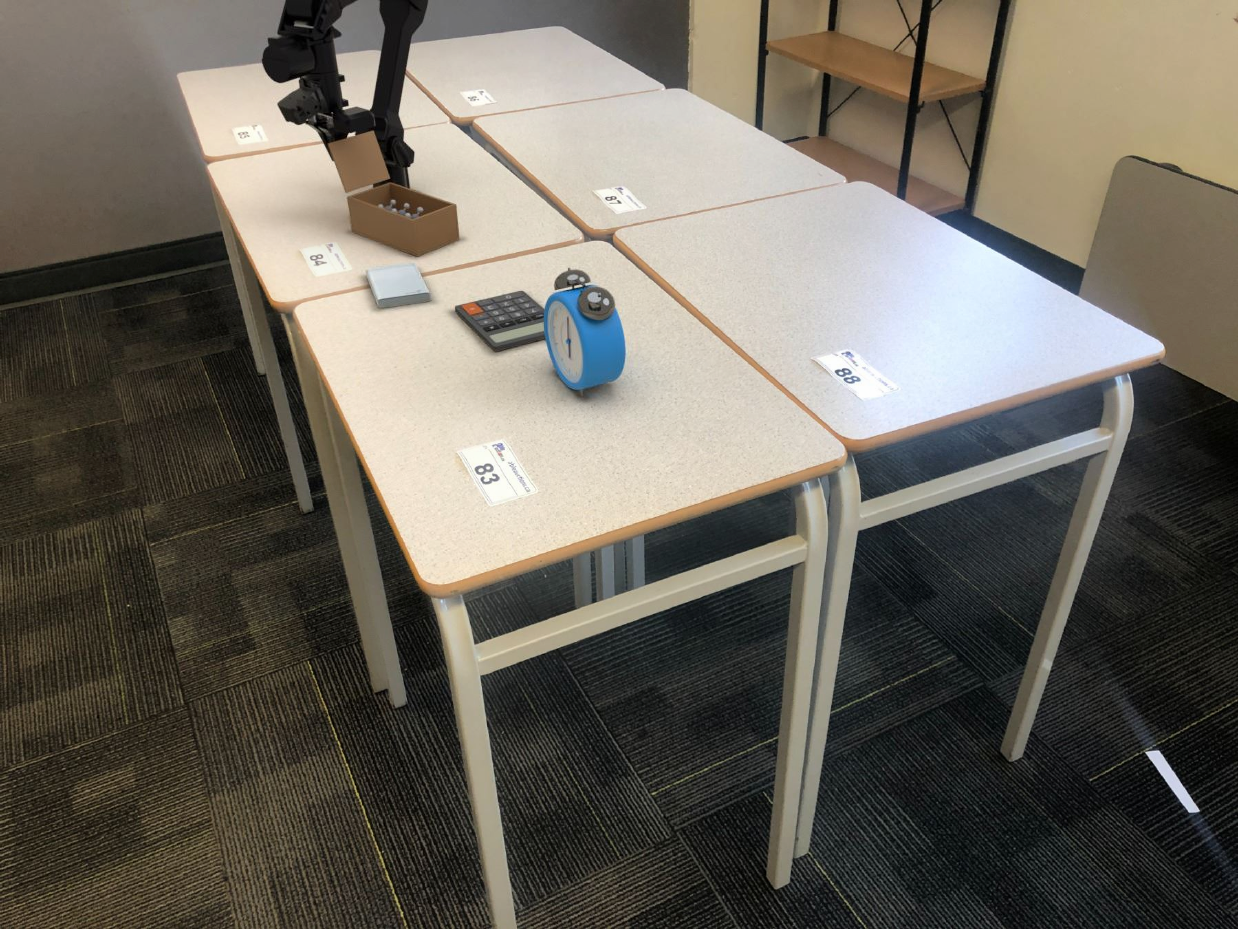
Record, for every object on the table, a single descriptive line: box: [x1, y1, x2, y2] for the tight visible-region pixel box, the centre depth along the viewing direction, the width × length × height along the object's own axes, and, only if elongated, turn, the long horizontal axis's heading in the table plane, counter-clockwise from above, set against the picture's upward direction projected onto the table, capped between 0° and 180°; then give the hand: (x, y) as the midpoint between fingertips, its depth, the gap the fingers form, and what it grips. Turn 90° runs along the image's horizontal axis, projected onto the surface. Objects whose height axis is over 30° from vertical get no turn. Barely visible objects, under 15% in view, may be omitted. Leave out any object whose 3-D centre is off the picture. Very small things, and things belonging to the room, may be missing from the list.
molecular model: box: [378, 200, 423, 219], centre depth 169 cm, size 14×4×5 cm, turn 49°
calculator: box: [454, 290, 546, 352], centre depth 143 cm, size 12×1×15 cm
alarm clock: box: [544, 267, 627, 397], centre depth 125 cm, size 13×6×15 cm, turn 29°
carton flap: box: [328, 131, 390, 194], centre depth 169 cm, size 9×10×1 cm
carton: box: [346, 182, 461, 258], centre depth 169 cm, size 18×10×6 cm, turn 51°
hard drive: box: [365, 262, 432, 309], centre depth 152 cm, size 2×8×12 cm
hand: (336, 161), depth 171 cm, fingers closed
